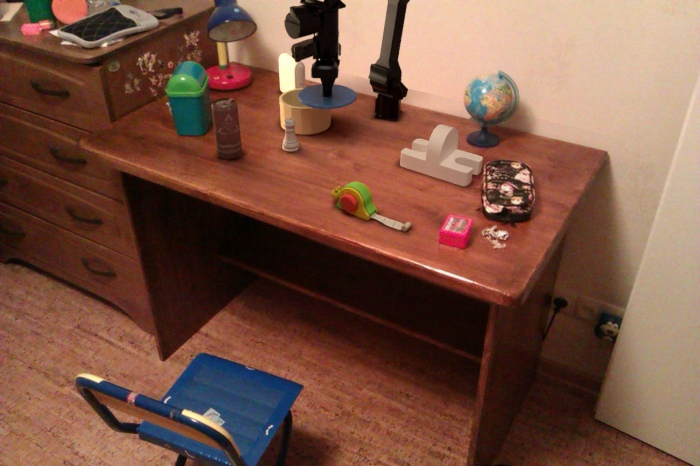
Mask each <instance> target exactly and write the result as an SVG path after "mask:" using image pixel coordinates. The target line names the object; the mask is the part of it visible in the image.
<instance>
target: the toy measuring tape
mask: <svg viewBox="0 0 700 466" xmlns="http://www.w3.org/2000/svg"><path fill="white" fill-rule="evenodd" d="M331 197H332V198H333V199H334V200H336V201H337V202H336V207H337V208H338V209H341V210H344V211H345V212H346V213H348V214H349V215H352V216H355V217H358V218H360V219H363V220H364V221H369V220H371V219H374V220H376V221H378V222H380V223H381V224H383V225H385V226H387V227H389V228H392V229H394V230H397V231H402V232H403V233H404V232H407V231H408V230H409V229H410V228H411V227H412V223H411V222H410V221H406V222H405V223H403V222H401V221H397V220H395V219H391V218H389V217H386V216H383V215H380V214H378V212H379V211H378V208H377V206H376V205H375V204H374V199H373V194H372V192H371V190H370V188H369V187H368V186H367V185H366V184H365V183H362V182H361V181H355V180H354V181H351V182H349V183H348V184H346V185H345V186H344V187H342V186H341V185H338V186H337V187H335V188H333V189H332V191H331Z"/></svg>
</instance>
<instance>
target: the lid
mask: <svg viewBox="0 0 700 466" xmlns="http://www.w3.org/2000/svg"><path fill="white" fill-rule="evenodd" d="M298 100H299V101H300V102H301V103H302V104H304V105H306V106H309V107H312V108H318V109H331V110H334V109H336V110H337V109H341V108H346V107H348V106H350V105H352V104H353V103H354V102H356V100H357V93H356V92H355V90H353V89H352V88H350V87H348V86H346V85H341V84H337V83H336V84H335V83H334V84H333V87H332V89H331V92H330V94H329V96H326V95H325V94H324V91H323V87H322V83H319V84H313V85H309V86H306V88H304V89H302V90H301V91H300V92H299V93H298Z"/></svg>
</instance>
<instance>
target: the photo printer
mask: <svg viewBox="0 0 700 466" xmlns="http://www.w3.org/2000/svg"><path fill="white" fill-rule="evenodd" d="M278 75H279V76H278V77H279V90H280V92H281V93H282V94H283V93H284V92H287V91H289V90H293V89H298V88H306V87H307V86H306V82H307V81H306V66H305V63H304V62H303V60H301V61H300V62H295V60H294V58H292V52H283V53H280V54H279V57H278Z"/></svg>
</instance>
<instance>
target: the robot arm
mask: <svg viewBox="0 0 700 466" xmlns="http://www.w3.org/2000/svg"><path fill="white" fill-rule="evenodd" d="M410 1H411V0H387V5H386V11H385V19H384V26H383V31H382V39H381V46H380V53H379V57H378V59H377V60H376V62H374V63H371V64H370V66H369V74H368V76H367V79H369V85H370V86H371V90H372V93H375V94H376V98H375V99H374V113H375V114H374V118H375V119H380V120H388V121H393V122H395V121H398V120H399V118H400V117H401V115H402V113H403V110H402V101H403V100H404V98H406V97H407V95H408V92H409V89H408V87H407V86H406V85H405V84H404V83H403V82H402V76H403V74H402V73H403V71H402V68H401V66H400V63H399V57H400V50H401V44H402V39H403V34H404V33H403V32H404V27H405V19H406V13H407V6H408V4H409V3H410ZM299 4H300V5H291V6H290V7H289V12H288V13H287V14H286V15H285V19H284V20H283V24H284V29H285V32H286V34H287V35H288V37H290V38H291V39H292V40H297V39H301V38H305V37H308V36H312V35H313V36H312V37H311V38H307V39H305V40H301V41H298V42H296V43H293V44H292V45H291V47H290V53H291V54H292V58H294V60H295V62H300V61H304V60H307V59H310V58H312V60H315V61H314V62H313V63H312V64H311V68H310V77H311V79H320V82H321V83H320V84H322V87H323V91H324V94H325V95H326V96H329V94H330V92H331V89H332V87H333V84H335V82H336V80H337V79H338V78H339V71H340V68H339V67H340V64H341V59H340V58H339V57H342V44H341V43H340V41H339V40H340V39H339V38H340V31H339V30H340V26H339V25H340V22H339V21H340V11H339V10H342V9H345V8H346V7H347V4H346V3H344V1H342V0H323V1H322V0H299Z"/></svg>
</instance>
